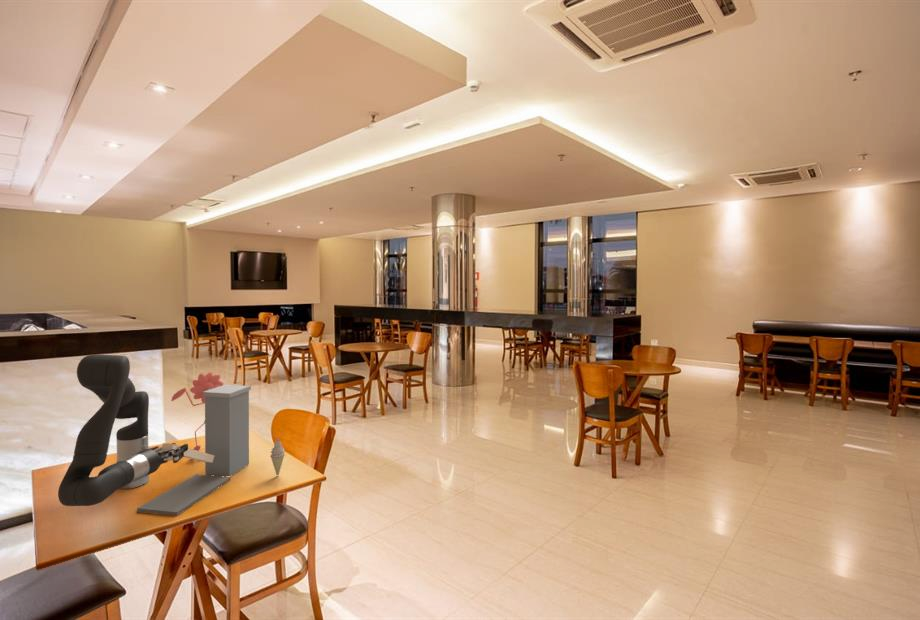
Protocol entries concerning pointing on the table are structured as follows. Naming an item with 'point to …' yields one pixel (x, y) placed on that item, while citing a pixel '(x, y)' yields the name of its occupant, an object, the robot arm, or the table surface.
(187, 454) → the slat
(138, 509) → the mat
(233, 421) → the pedestal
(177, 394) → the figurine
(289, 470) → the table surface
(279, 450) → the ice cream cone
